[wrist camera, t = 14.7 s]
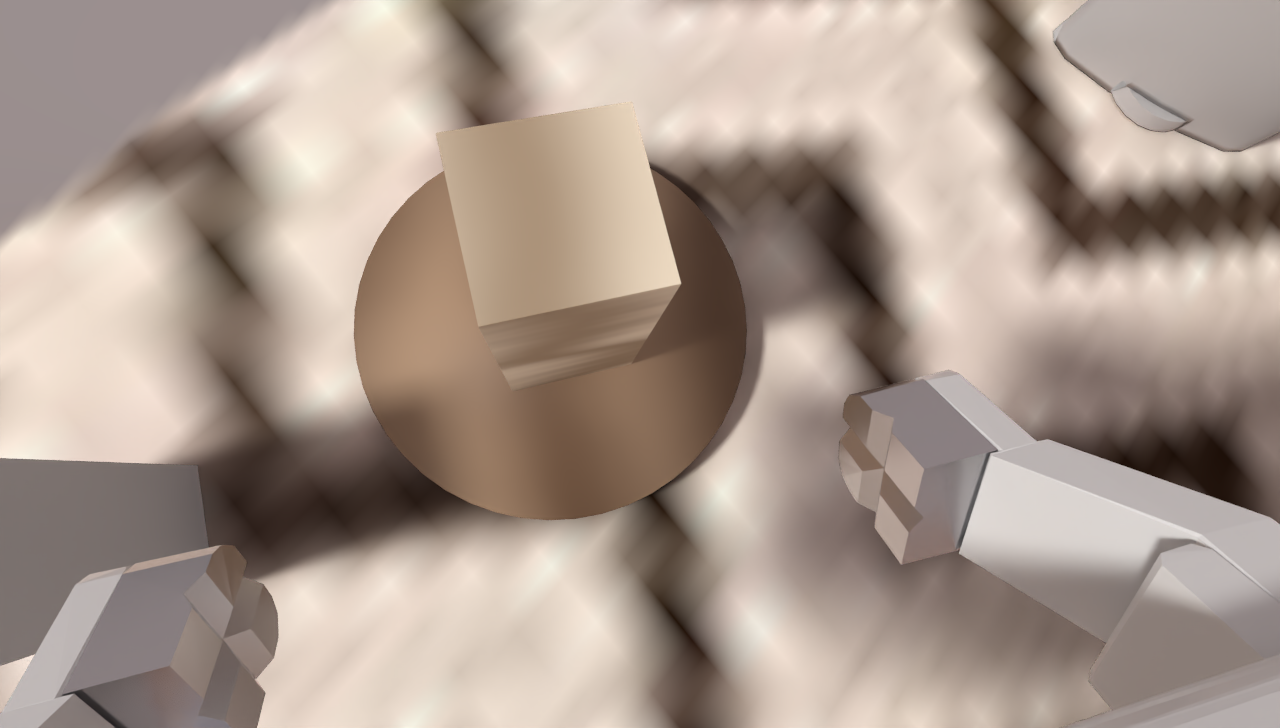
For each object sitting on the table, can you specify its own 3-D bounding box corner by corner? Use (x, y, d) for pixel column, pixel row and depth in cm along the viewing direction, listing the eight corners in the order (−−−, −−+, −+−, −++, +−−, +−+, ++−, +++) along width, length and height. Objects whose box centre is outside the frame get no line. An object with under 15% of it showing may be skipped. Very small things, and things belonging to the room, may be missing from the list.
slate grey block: (197, 465, 20) (-84, 455, 11) (215, 593, 20) (-66, 687, 11) (56, 496, 19) (-358, 511, 11) (70, 630, 19) (-353, 761, 10)
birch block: (602, 252, 22) (631, 101, 13) (631, 364, 21) (681, 283, 13) (486, 275, 21) (435, 132, 13) (512, 391, 21) (478, 326, 12)
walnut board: (688, 130, 24) (693, 115, 23) (779, 465, 22) (789, 465, 21) (333, 187, 22) (322, 174, 21) (401, 563, 20) (393, 567, 19)
